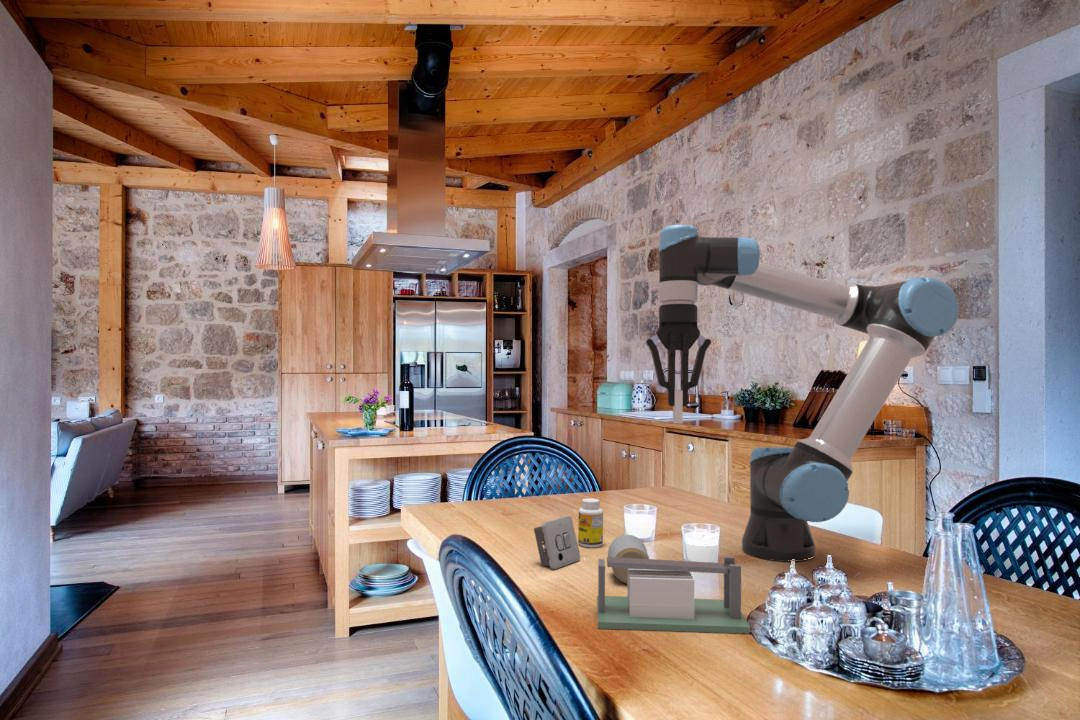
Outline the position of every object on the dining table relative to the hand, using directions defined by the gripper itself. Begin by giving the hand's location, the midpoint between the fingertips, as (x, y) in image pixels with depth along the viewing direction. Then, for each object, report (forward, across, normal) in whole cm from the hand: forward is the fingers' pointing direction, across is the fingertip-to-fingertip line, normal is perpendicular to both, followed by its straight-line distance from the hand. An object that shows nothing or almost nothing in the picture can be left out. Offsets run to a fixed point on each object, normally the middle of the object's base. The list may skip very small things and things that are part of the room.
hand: (677, 422), depth 133 cm
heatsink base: (+29, +5, +25) cm, 39 cm away
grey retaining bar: (+22, +4, +25) cm, 33 cm away
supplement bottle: (+30, +17, -18) cm, 39 cm away
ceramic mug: (+30, +8, +6) cm, 31 cm away
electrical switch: (+30, +24, -3) cm, 38 cm away
